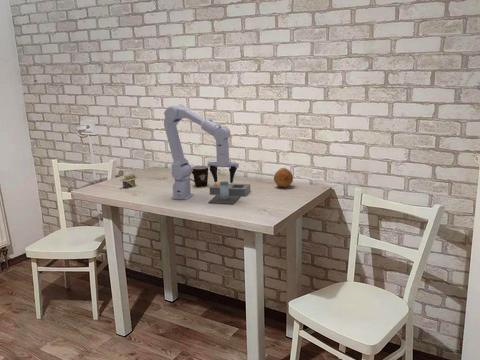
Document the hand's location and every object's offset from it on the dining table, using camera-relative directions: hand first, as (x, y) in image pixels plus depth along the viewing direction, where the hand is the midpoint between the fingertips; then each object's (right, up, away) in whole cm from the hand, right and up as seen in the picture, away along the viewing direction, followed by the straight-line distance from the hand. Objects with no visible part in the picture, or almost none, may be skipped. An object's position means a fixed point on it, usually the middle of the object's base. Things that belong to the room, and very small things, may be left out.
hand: (223, 182), depth 213 cm
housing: (+3, -5, +15) cm, 16 cm away
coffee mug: (-14, -2, +30) cm, 34 cm away
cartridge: (0, -8, +2) cm, 8 cm away
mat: (0, -8, +2) cm, 9 cm away
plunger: (-2, -5, +16) cm, 16 cm away
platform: (-51, -3, +33) cm, 61 cm away
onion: (+30, -3, +22) cm, 37 cm away
